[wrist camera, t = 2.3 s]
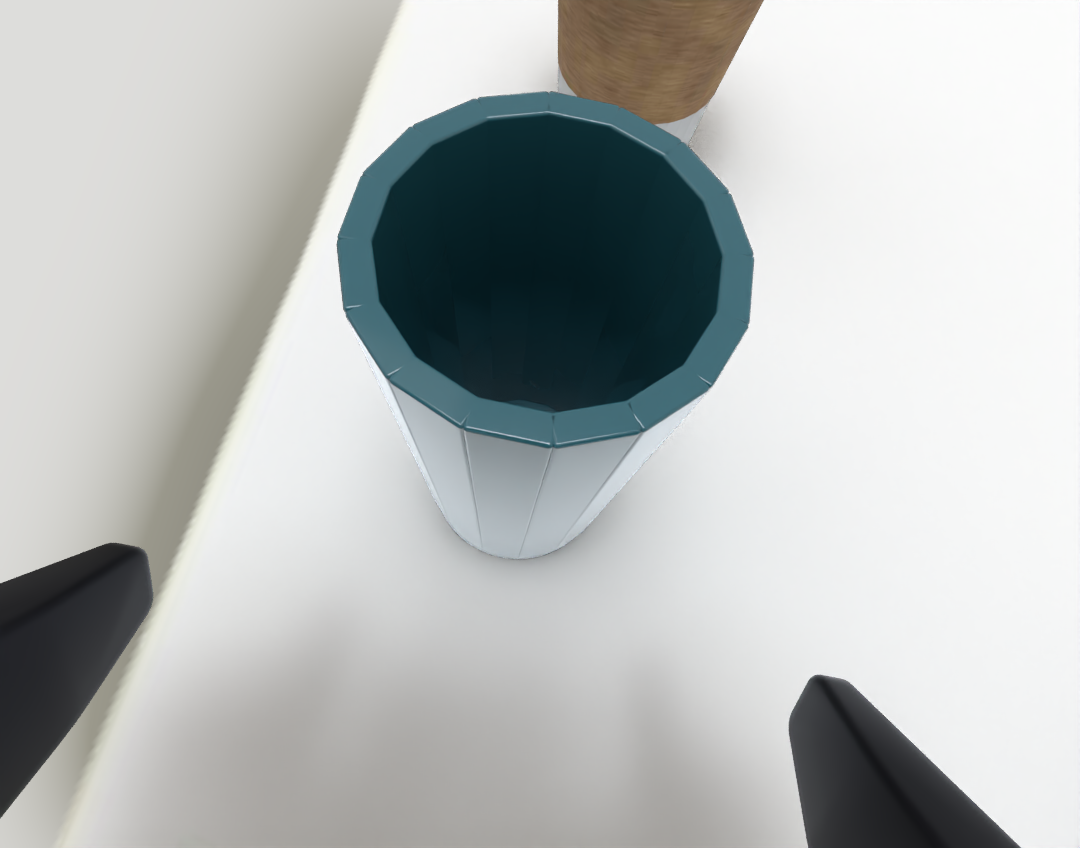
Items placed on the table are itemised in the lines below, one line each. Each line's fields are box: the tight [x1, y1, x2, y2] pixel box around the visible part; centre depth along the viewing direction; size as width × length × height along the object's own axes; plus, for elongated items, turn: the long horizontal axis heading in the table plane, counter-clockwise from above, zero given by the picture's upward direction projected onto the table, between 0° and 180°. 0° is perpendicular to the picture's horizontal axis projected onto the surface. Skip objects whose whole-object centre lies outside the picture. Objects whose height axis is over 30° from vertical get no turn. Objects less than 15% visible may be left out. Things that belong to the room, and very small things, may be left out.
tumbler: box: [337, 91, 754, 559], centre depth 14 cm, size 6×6×13 cm
